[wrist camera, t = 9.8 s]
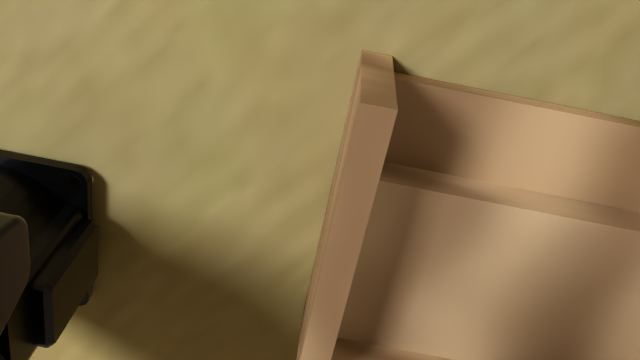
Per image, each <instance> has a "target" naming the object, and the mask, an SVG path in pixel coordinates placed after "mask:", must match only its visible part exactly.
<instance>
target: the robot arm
mask: <svg viewBox="0 0 640 360" xmlns="http://www.w3.org/2000/svg"><path fill="white" fill-rule="evenodd" d="M72 176H75V177H77V178H78V179H79V180H80V182H81V183H78V182H76V181H74V180H73V179H72ZM97 275H98V225H97V224H96V222H95V220H93V219H92V178H91V174H90V173H89V171H88V170H87V169H85V168H84V167H82V166H79V165H75V164H70V163H64V162H59V161H54V160H49V159H44V158H39V157H34V156H28V155H23V154H18V153H13V152H8V151H3V150H0V360H29V359H30V357H31V356H32V354H33V353H34V351H35V349H36V348H37V346H40V347H45V348H49V347H50V346H52V345H53V344H54V343H56V341H57V340H58V338H59V336H60V335H61V333H62V332H63V330H64V328H65V327H66V325H67V324H68V322H69V320H70V319H71V317H72V316H73V314H74V312H75V311H76V309H77V308H78V306H82V305H85V304H86V303H87V302H88V301H89V299H90V297H91V296H92V283H93V282H94V280H95V279H96V277H97Z"/></svg>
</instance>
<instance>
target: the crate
mask: <svg viewBox="0 0 640 360" xmlns="http://www.w3.org/2000/svg"><path fill="white" fill-rule="evenodd" d="M297 360H640V121H636V120H631V119H626V118H621V117H616V116H611V115H606V114H601V113H596V112H591V111H586V110H581V109H576V108H571V107H566V106H561V105H556V104H551V103H547V102H542V101H537V100H532V99H527V98H522V97H517V96H512V95H507V94H502V93H497V92H492V91H487V90H482V89H477V88H472V87H467V86H462V85H457V84H452V83H447V82H442V81H437V80H432V79H427V78H422V77H417V76H412V75H407V74H402V73H397V72H394V68H393V58H392V56H389V55H384V54H379V53H374V52H369V51H364V50H362V52H361V57H360V61H359V66H358V70H357V75H356V79H355V84H354V88H353V93H352V97H351V102H350V106H349V110H348V115H347V119H346V124H345V128H344V133H343V137H342V142H341V146H340V151H339V155H338V160H337V164H336V169H335V173H334V178H333V182H332V186H331V191H330V195H329V200H328V204H327V209H326V213H325V218H324V222H323V227H322V231H321V236H320V240H319V245H318V249H317V254H316V258H315V262H314V267H313V271H312V276H311V280H310V285H309V289H308V294H307V298H306V303H305V307H304V312H303V317H302V324H301V331H300V338H299V345H298V353H297Z"/></svg>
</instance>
